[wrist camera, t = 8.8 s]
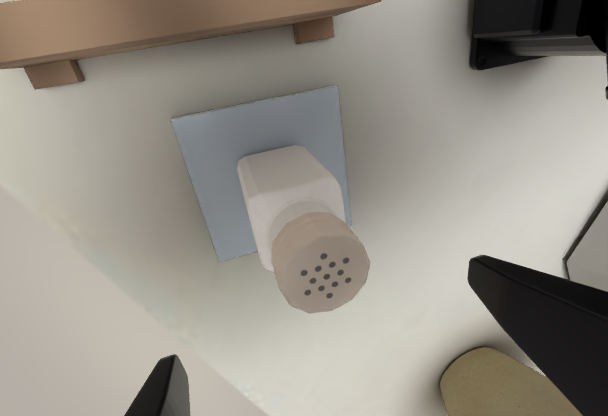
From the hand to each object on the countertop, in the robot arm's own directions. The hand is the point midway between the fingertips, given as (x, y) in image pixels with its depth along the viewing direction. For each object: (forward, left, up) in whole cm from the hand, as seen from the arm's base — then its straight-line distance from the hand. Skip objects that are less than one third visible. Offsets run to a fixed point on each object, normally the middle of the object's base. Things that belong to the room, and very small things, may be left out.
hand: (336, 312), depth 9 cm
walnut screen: (+2, -9, -12) cm, 15 cm away
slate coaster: (0, 0, -12) cm, 12 cm away
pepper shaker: (0, 0, -11) cm, 11 cm away
